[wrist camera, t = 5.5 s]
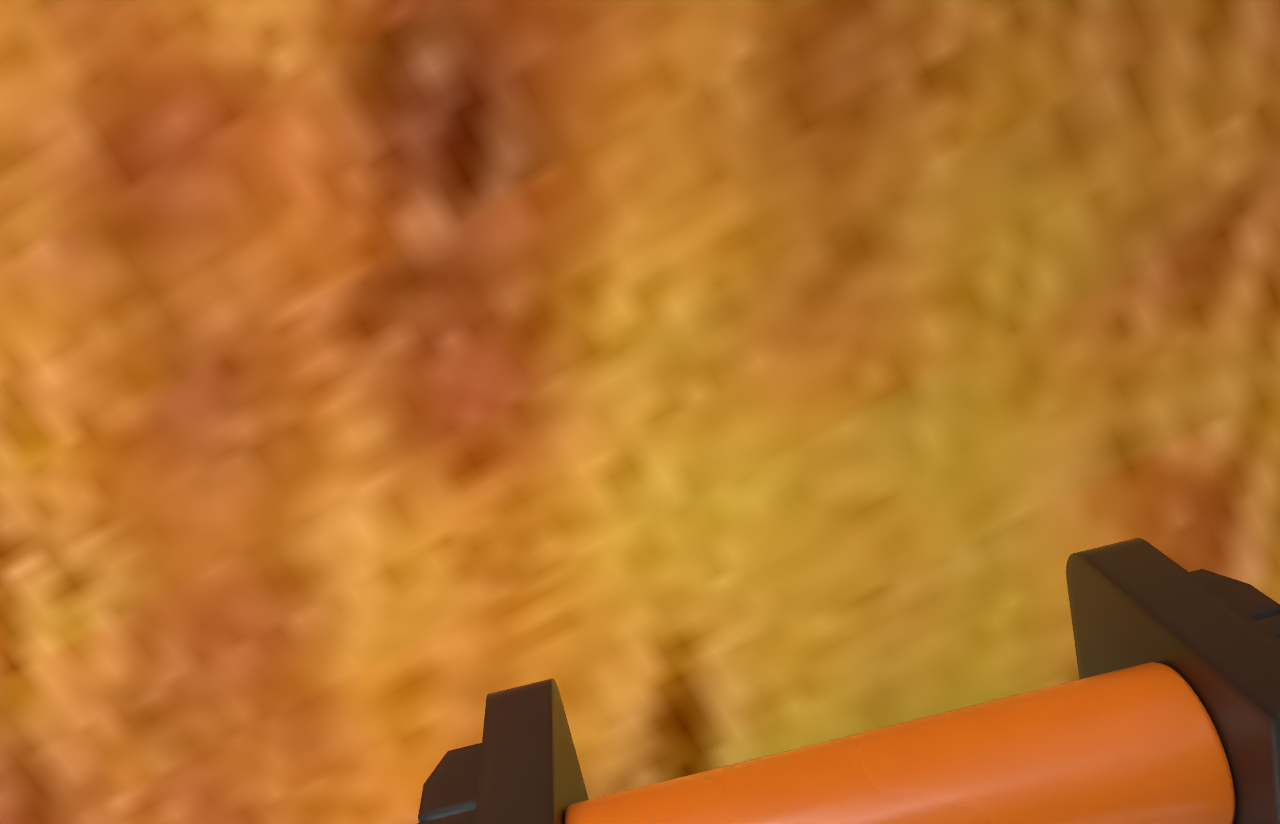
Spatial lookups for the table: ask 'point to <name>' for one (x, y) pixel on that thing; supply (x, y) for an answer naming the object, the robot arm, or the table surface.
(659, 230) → the table surface
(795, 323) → the table surface
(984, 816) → the lever
